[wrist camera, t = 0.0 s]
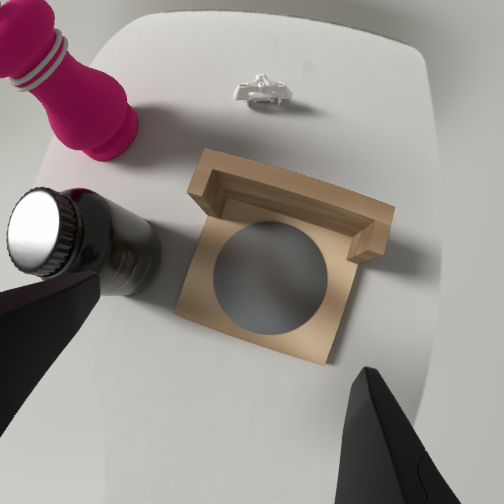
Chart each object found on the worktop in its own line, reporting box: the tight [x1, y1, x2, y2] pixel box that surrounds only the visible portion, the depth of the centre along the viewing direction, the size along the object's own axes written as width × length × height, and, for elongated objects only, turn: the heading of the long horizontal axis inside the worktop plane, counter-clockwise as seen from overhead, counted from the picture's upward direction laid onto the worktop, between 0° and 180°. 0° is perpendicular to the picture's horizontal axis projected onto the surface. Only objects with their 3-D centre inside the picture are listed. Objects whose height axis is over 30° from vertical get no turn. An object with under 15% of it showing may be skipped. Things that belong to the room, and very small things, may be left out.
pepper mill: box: [0, 0, 138, 161], centre depth 17 cm, size 7×7×20 cm
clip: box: [233, 74, 292, 107], centre depth 24 cm, size 5×2×4 cm, turn 90°
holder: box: [174, 148, 395, 366], centre depth 21 cm, size 11×12×7 cm
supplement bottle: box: [7, 187, 161, 296], centre depth 20 cm, size 7×7×12 cm
